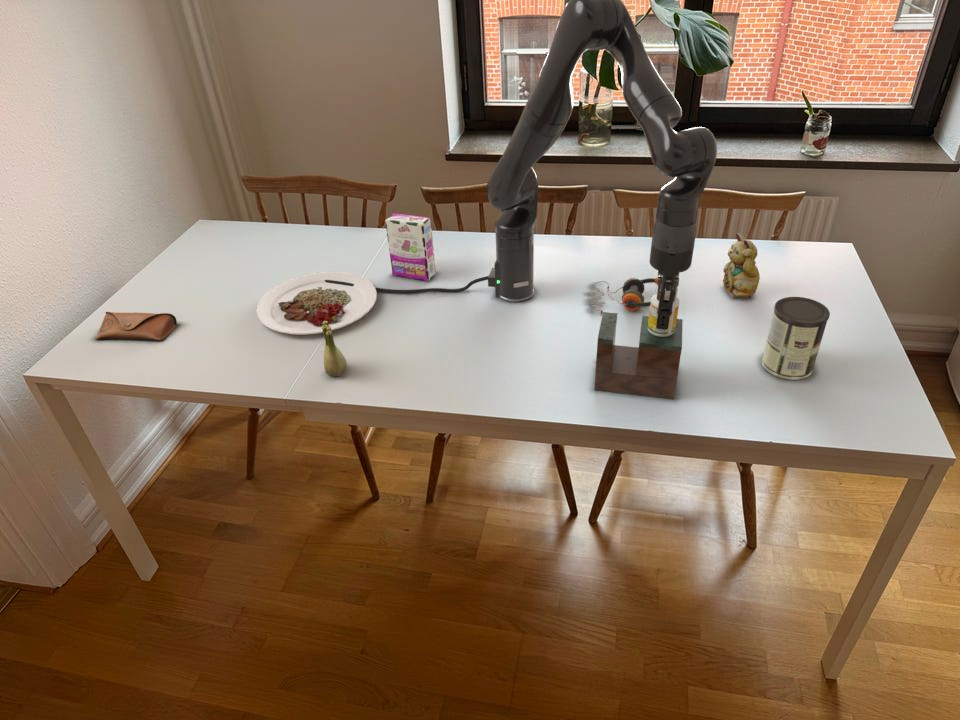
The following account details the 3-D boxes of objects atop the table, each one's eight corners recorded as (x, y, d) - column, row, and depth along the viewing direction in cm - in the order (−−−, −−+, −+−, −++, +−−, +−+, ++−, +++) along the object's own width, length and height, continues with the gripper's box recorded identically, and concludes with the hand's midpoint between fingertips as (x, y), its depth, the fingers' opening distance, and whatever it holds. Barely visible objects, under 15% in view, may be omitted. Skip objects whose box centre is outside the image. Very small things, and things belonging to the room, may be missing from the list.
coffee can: (792, 347, 151) (807, 292, 143) (823, 374, 143) (841, 317, 135) (751, 357, 149) (764, 301, 141) (780, 384, 141) (796, 327, 133)
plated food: (320, 267, 191) (318, 257, 189) (401, 296, 177) (400, 284, 175) (233, 317, 172) (229, 305, 170) (316, 353, 157) (313, 341, 155)
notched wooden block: (594, 390, 142) (597, 338, 134) (599, 362, 150) (602, 311, 142) (673, 399, 139) (682, 346, 131) (674, 370, 146) (682, 319, 139)
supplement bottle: (657, 340, 133) (662, 297, 127) (641, 326, 137) (646, 284, 131) (680, 333, 135) (687, 291, 129) (664, 320, 139) (670, 278, 133)
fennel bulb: (330, 363, 154) (320, 318, 147) (351, 364, 153) (342, 319, 146) (322, 379, 149) (312, 333, 142) (344, 380, 149) (335, 334, 142)
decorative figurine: (714, 285, 174) (724, 230, 165) (744, 280, 176) (755, 226, 167) (734, 304, 167) (745, 248, 158) (765, 298, 168) (778, 243, 159)
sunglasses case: (91, 339, 165) (90, 312, 165) (109, 338, 172) (108, 311, 172) (162, 340, 164) (161, 312, 163) (178, 339, 171) (177, 312, 170)
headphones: (587, 274, 176) (667, 262, 170) (591, 291, 179) (670, 281, 173) (582, 308, 163) (668, 297, 157) (586, 327, 166) (671, 317, 159)
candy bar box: (436, 273, 186) (431, 217, 176) (428, 282, 182) (423, 225, 172) (400, 267, 189) (393, 212, 180) (391, 275, 186) (384, 219, 176)
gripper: (653, 223, 131) (644, 299, 141) (650, 258, 120) (640, 338, 130) (694, 225, 129) (682, 302, 139) (694, 261, 118) (681, 342, 128)
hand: (662, 319), depth 134 cm, fingers closed on supplement bottle, 5 cm apart
